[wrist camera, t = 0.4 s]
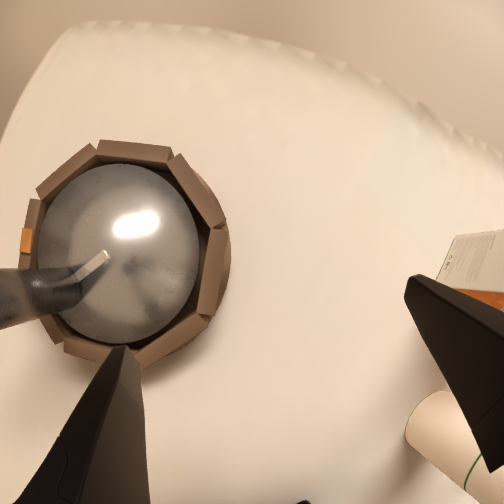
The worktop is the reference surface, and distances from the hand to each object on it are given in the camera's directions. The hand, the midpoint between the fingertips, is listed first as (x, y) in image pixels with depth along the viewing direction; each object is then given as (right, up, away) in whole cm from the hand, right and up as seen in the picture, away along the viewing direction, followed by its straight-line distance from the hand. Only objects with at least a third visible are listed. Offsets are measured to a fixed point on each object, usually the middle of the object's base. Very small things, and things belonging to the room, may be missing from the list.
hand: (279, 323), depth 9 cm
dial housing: (-11, +2, +14) cm, 18 cm away
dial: (-11, +2, +13) cm, 17 cm away
